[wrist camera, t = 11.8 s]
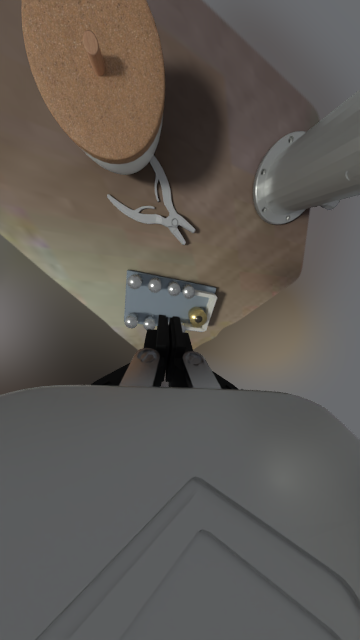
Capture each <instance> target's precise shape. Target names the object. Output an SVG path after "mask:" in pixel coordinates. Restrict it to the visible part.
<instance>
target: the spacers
mask: <svg viewBox="0 0 360 640" xmlns="http://www.w3.org/2000/svg"><path fill="white" fill-rule="evenodd" d="M142 282H143V278H142V276H141V275H140V274H137V273H134V274H132V275H131V276H130V277H129V278H128V280H127V284H128V286H129V287H130V288H131V289H138V288H139V287H140V286H141V284H142ZM167 287H168V292H169V294H170V295H171V296H177V295H179V294H180V292H181V291H182V293H183V295H184V297H185V298H187V299H191V298H193V297H194V296H195V289H194V288H193V287H192V286H191V285H190V284H184V285H183V286H182V288H180V286H179V284H178V283H177V282H176V281H170V282H169V283H168V286H167ZM148 288H149V290H150V291H151V292H153V293H157V292H159V291H160V290H161V280H160V279H159V278H157V277H153V278H151V279H150V281H149V284H148ZM138 319H139V316H138V314H137V313H134V312H131V313H129V314H128V316H127V318H126V320H125V325H126V326H127V327H128V328H135V327H136V326H137V323H138ZM169 320H170V318H168V325H169ZM155 321H156V319H155V317H154V316H153V315H147V316H146V317H145V320H144V325H143V326H144V328H145V329H146V330H147V329H152V330H153V329H154V328H155ZM180 321H181V326H182V331H183V332H185V330H186V328H185V325H184V322H183V320H181V319H180Z"/></svg>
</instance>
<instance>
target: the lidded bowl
mask: <svg viewBox="0 0 360 640" xmlns="http://www.w3.org/2000/svg"><path fill="white" fill-rule="evenodd" d="M22 28H23V36H24V42H25V47H26V52H27V56H28V60H29V64H30V67H31V70H32V73H33V76H34V79H35V81H36V84H37V87H38V89H39V91H40V93H41V95H42V97H43V99H44V101H45V103H46V105H47V107H48V108H49V110H50V112H51V113H52V115H53V116H54V118H55V119H56V121H57V122H58V123H59V125H60V126H61V127H62V129H63V130H64V131H65V132H66V133H67V135H68V136H69V137H70V138H71V139H72V140H73V141H74V142H75V143H76V144H77V145H78V146H79V147H80V148H81V149H82V150H83V151H84V152H85V153H86V154H87V155H88V156H89V157H90V158H91V159H92V160H93V161H95V162H96V163H97V164H99V165H100V166H102V167H103V168H105V169H107V170H109V171H111V172H113V173H117V174H123V175H128V174H133V173H136V172H138V171H140V170H141V169H143V168H144V167H145V166H146V165H147V164H148V163H149V161H150V160H151V158H152V157H153V155H154V152H155V150H156V148H157V145H158V142H159V138H160V133H161V128H162V119H163V110H164V100H165V69H164V60H163V53H162V48H161V43H160V38H159V35H158V31H157V28H156V25H155V21H154V18H153V16H152V13H151V11H150V8H149V6H148V4H147V1H146V0H22Z"/></svg>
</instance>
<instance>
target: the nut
mask: <svg viewBox="0 0 360 640" xmlns="http://www.w3.org/2000/svg"><path fill="white" fill-rule="evenodd" d="M188 317H189V320H190V322H191V324H192V325H193V326H195V327H200V326H203V325H204V324H205V323H206V321H207V315H206V314H205V312H204V311H203V309H202V308H200V307H193V308H191V309H190V310H189V312H188Z"/></svg>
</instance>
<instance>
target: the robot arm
mask: <svg viewBox="0 0 360 640" xmlns="http://www.w3.org/2000/svg"><path fill="white" fill-rule="evenodd" d="M356 195H360V90H359V91H358V92H356V93H355V94H354V95H353V96H351V97H350V98H349V99H348V100H346V101H345V102H344V103H343V104H341V105H340V106H339V107H337V108H336V109H335V110H334V111H332V112H331V113H330V114H329V115H327V116H326V117H325V118H324V119H322V120H321V121H320V122H319V123H317V124H316V125H315V126H313V127H312V128H311V129H310V130H308V131H307V132H304V131H296V132H293V133H290V134H288V135H286V136H284V137H283V138H281V139H280V140H279V141H278V142H277V143H275V144H274V145H273V146H272V147H271V148H270V149H269V151H268V152H267V153H266V155H265V156H264V158H263V160H262V161H261V163H260V165H259V168H258V170H257V173H256V176H255V181H254V186H253V201H254V205H255V209H256V211H257V213H258V215H259V216H260V217H261V218H262V219H263V220H264V221H265V222H267V223H269V224H274V225H277V224H284V223H287V222H290V221H292V220H294V219H295V218H297V217H298V216H299V215H300V214H302V213H303V212H304V211H305V209H307V208H311V207H317V206H321V207H323V208H325V209H328V210H331V209H333V208H335V207H336V206H337V205H338V203H339V202H340V200H341V199H345V198H348V197H352V196H356ZM262 210H263V211H262ZM165 370H166V382H169V387H160V386H161V382H163V381H164V376H165ZM0 640H360V439H358V437H357V436H356V435H355V434H353V433H352V432H351V431H350V430H349V429H348V428H347V427H346V426H345V425H344V424H343V423H342V422H341V421H339V420H338V419H337V418H336V417H335V416H334V415H333V414H332V413H331V412H329V411H328V410H327V409H325V408H324V407H322V406H321V405H319V404H317V403H315V402H313V401H310V400H308V399H305V398H302V397H300V396H296V395H292V394H288V393H281V392H272V391H260V390H243V389H241V390H239V389H238V388H236V387H235V386H234V385H233V384H231V383H230V382H228V381H227V380H225V379H223V378H222V377H221V376H219V375H217V374H216V373H214V372H213V371H212V370H211V369H210V367H209V365H208V363H207V362H206V360H205V358H204V357H203V356H202V355H201V354H199V353H197V352H194V351H193V349H192V345H191V342H190V338H189V334H188V333H184V332H183V331H182V326H181V321H180V317H177V316H173V317H172V318H170V320H169V325H168V317H166V315H159V318H158V326H157V330H152V329H147V333H146V338H145V343H144V348H143V349H140V350H138V351H137V352H136V353H135V355H134V357H133V359H132V361H131V363H129V364H127V365H125V366H123V367H121V368H119V369H117V370H116V371H114V372H112V373H110V374H108V375H106V376H104V377H103V378H101V379H99V380H97V381H95V382H94V383H93V384H91V385H85V384H83V385H60V386H44V387H37V388H30V389H24V390H20V391H15V392H11V393H7V394H3V395H0Z"/></svg>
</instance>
